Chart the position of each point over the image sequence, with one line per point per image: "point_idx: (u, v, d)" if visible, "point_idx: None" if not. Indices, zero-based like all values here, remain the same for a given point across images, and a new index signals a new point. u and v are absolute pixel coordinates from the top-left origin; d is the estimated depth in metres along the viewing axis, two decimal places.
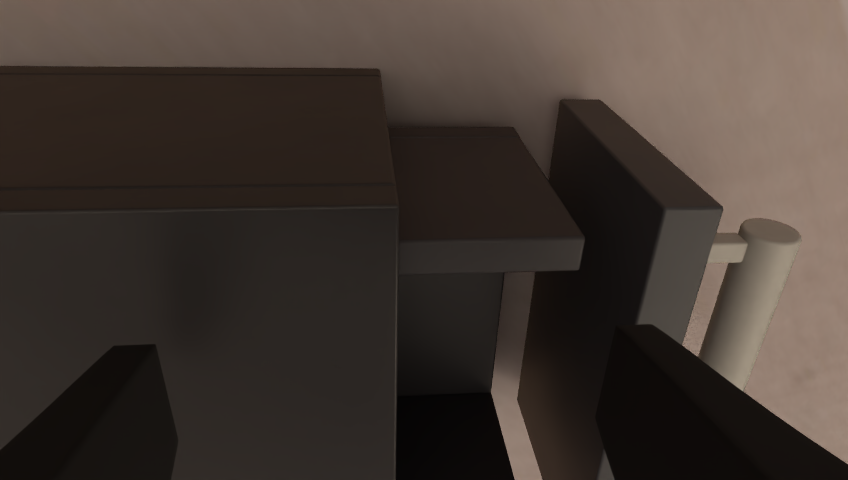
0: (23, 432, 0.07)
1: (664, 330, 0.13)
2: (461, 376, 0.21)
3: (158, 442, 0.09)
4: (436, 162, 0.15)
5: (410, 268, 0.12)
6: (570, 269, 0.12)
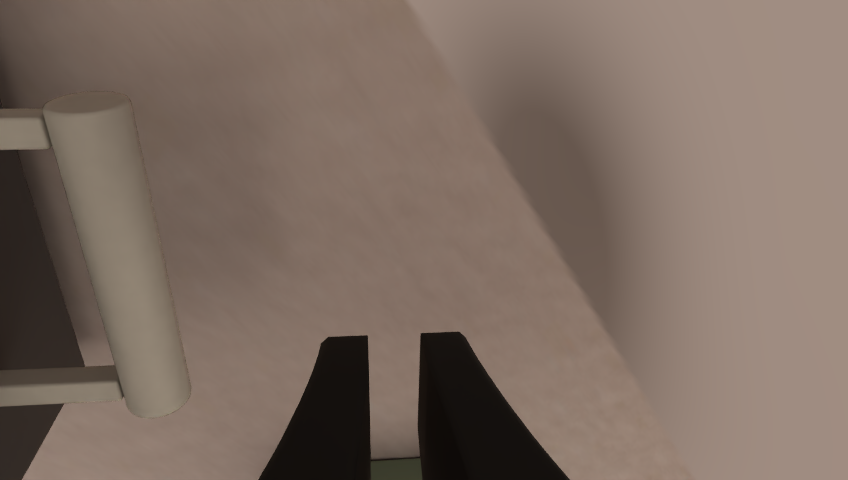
0: (301, 417, 0.07)
1: None
2: None
3: None
4: None
5: None
6: None
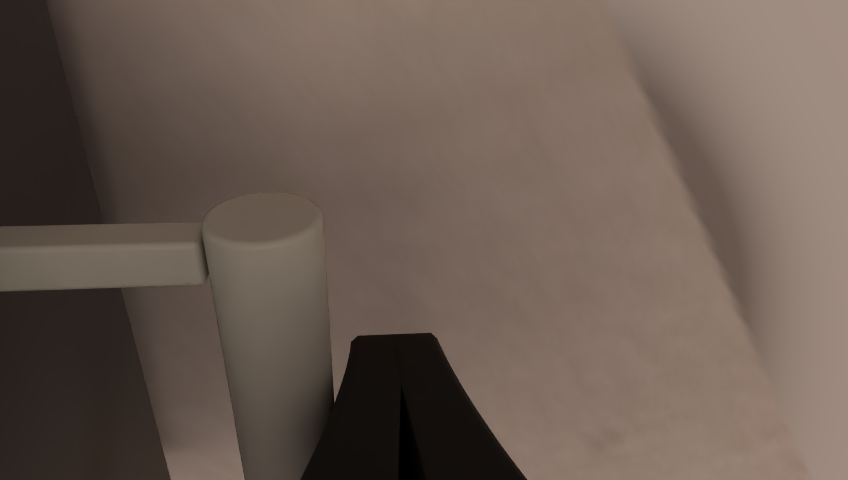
0: (339, 415, 0.07)
1: None
2: None
3: None
4: None
5: None
6: None
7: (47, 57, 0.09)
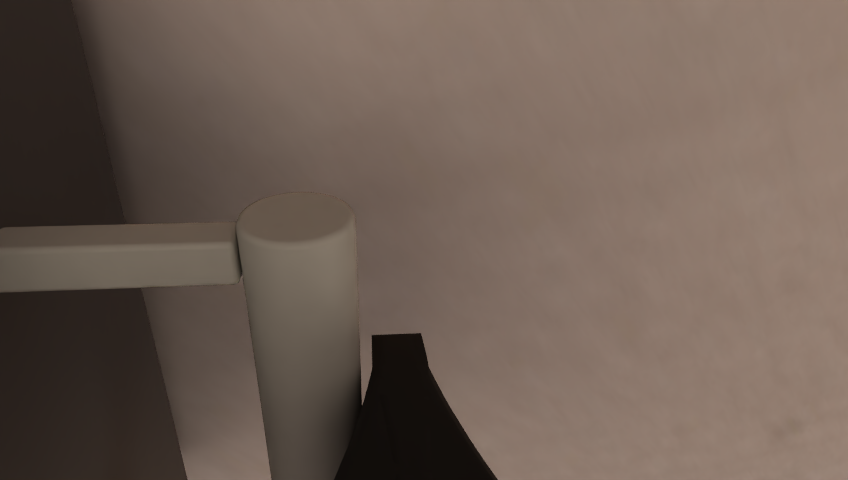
0: (370, 414, 0.07)
1: None
2: None
3: None
4: None
5: None
6: None
7: (74, 58, 0.09)
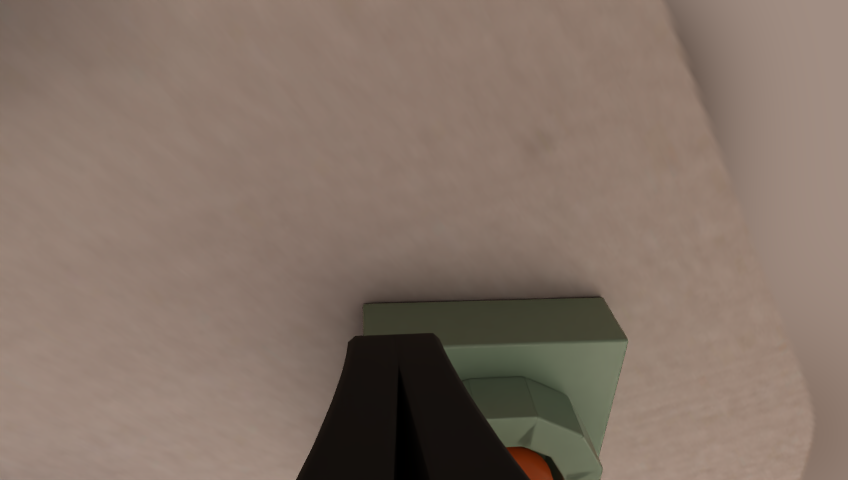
0: (335, 415, 0.07)
1: None
2: None
3: None
4: None
5: None
6: None
7: None
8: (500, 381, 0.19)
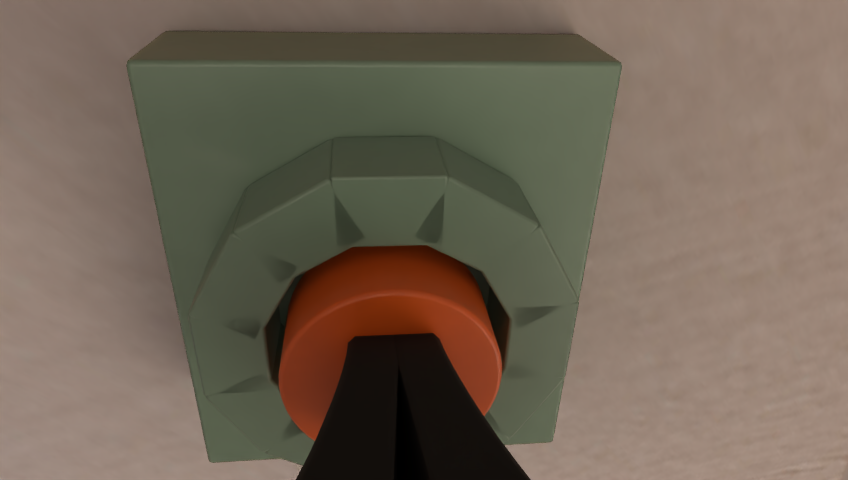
0: (335, 416, 0.07)
1: None
2: None
3: None
4: None
5: None
6: None
7: None
8: (391, 140, 0.10)
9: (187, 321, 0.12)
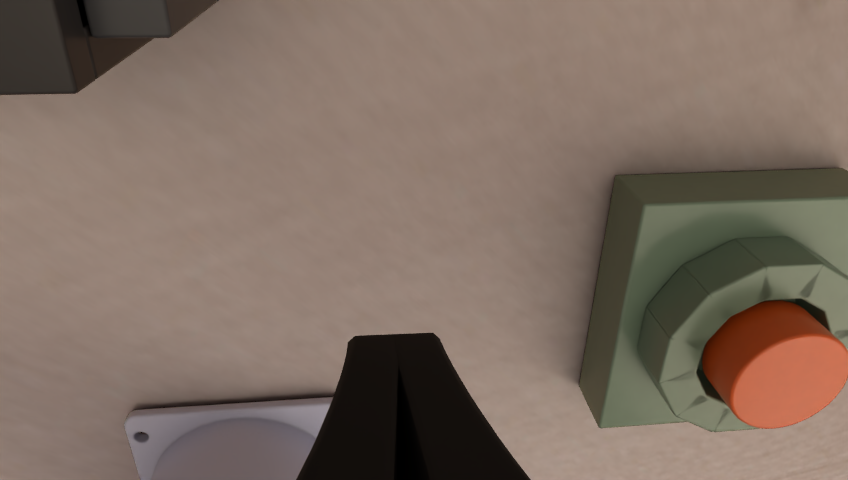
0: (335, 415, 0.07)
1: None
2: None
3: None
4: None
5: None
6: None
7: None
8: (768, 239, 0.19)
9: (620, 340, 0.21)
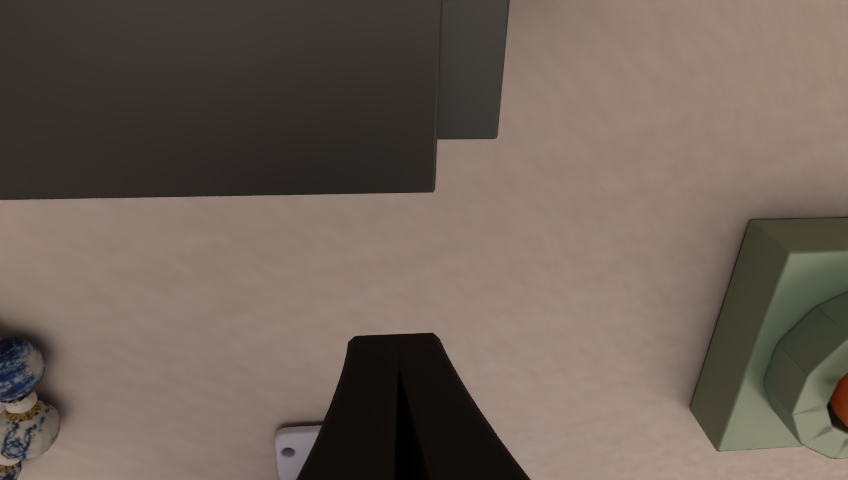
0: (335, 416, 0.07)
1: None
2: None
3: None
4: None
5: None
6: None
7: None
8: None
9: (749, 372, 0.22)
